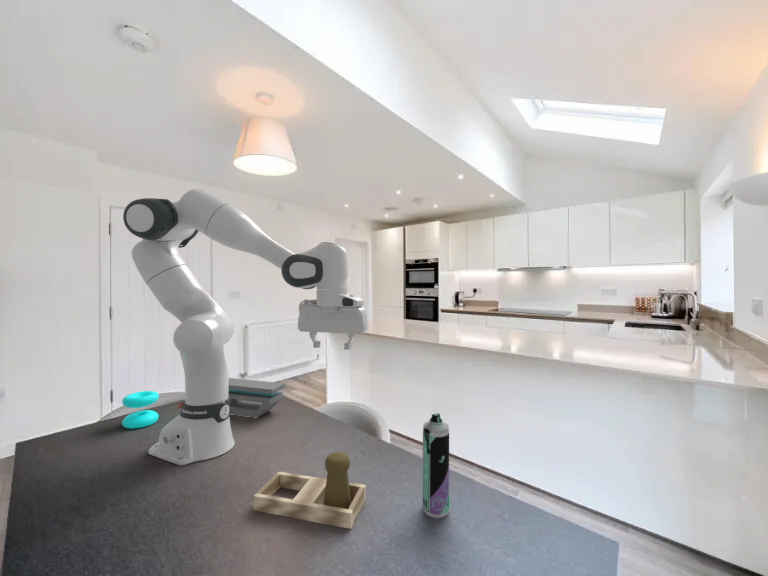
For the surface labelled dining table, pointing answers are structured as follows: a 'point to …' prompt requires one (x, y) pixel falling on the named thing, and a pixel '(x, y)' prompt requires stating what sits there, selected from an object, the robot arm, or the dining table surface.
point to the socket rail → (308, 500)
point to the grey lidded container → (253, 396)
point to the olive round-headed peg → (337, 481)
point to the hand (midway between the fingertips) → (332, 348)
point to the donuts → (140, 417)
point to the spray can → (436, 467)
